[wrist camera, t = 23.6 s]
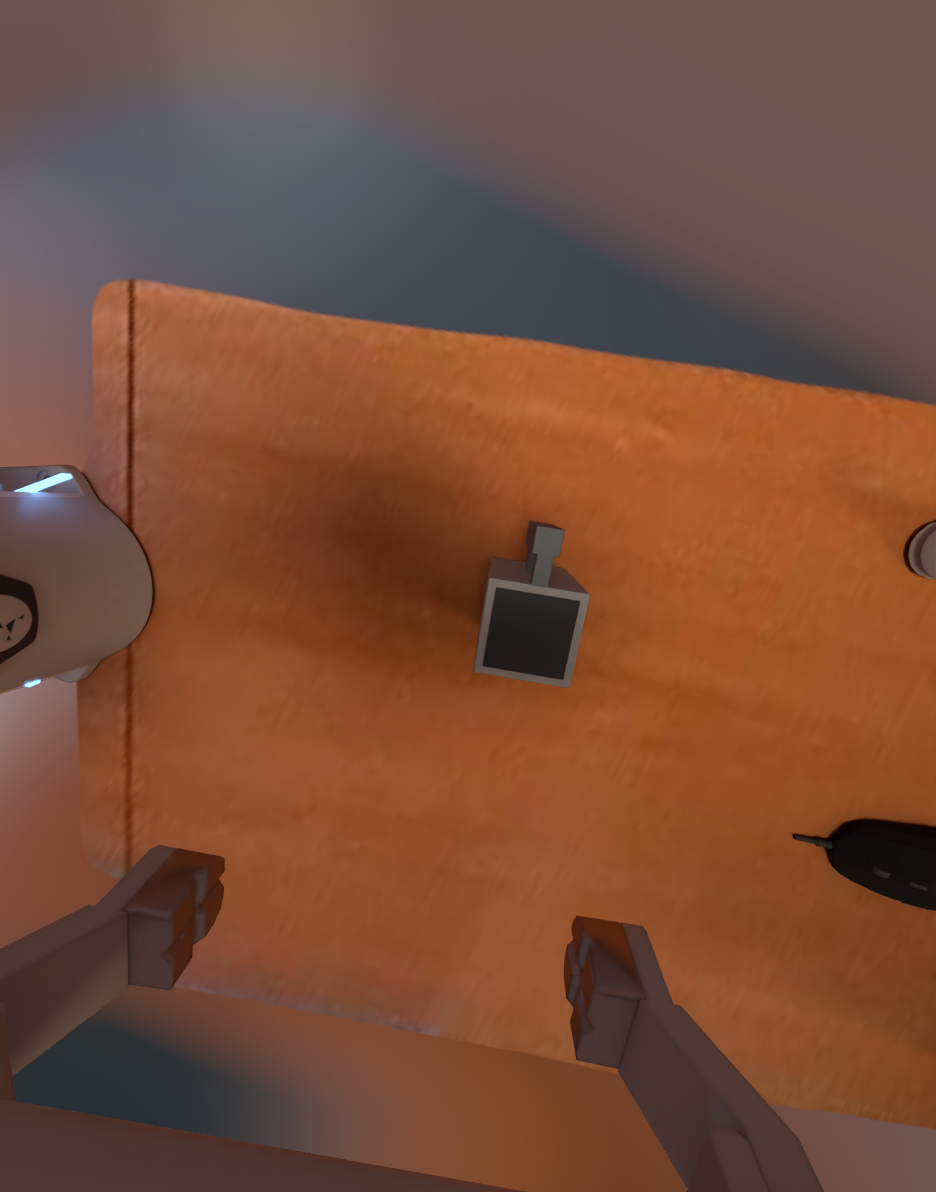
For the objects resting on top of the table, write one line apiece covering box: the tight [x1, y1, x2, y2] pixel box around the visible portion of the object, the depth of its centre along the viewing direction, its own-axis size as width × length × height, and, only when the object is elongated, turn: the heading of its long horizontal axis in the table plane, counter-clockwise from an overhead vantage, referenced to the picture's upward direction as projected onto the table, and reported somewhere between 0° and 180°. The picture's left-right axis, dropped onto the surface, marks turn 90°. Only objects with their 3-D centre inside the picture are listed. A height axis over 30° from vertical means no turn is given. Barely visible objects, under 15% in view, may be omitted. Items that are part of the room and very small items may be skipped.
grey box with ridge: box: [473, 521, 590, 688], centre depth 31 cm, size 10×6×9 cm
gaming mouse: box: [793, 821, 936, 911], centre depth 37 cm, size 6×15×4 cm, turn 82°
